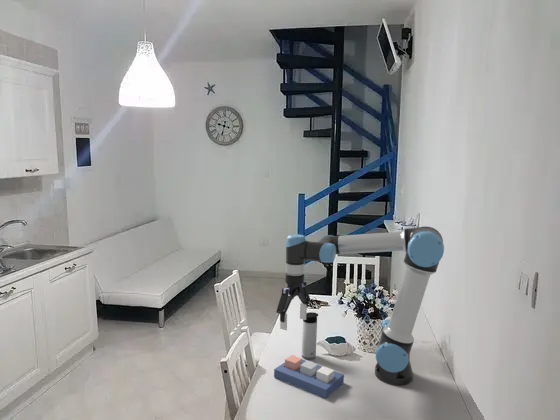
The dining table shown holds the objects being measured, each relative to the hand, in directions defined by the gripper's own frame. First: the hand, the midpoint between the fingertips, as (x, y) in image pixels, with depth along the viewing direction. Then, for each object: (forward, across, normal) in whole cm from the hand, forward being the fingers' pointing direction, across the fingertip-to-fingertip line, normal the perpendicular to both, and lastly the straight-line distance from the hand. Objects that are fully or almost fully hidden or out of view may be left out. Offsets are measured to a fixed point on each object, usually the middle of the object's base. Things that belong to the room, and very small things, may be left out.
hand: (293, 324), depth 174 cm
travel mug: (+21, -16, -2) cm, 27 cm away
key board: (+21, +1, +9) cm, 23 cm away
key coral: (+18, +1, +1) cm, 18 cm away
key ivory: (+18, +1, +16) cm, 24 cm away
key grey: (+18, +1, +9) cm, 20 cm away
